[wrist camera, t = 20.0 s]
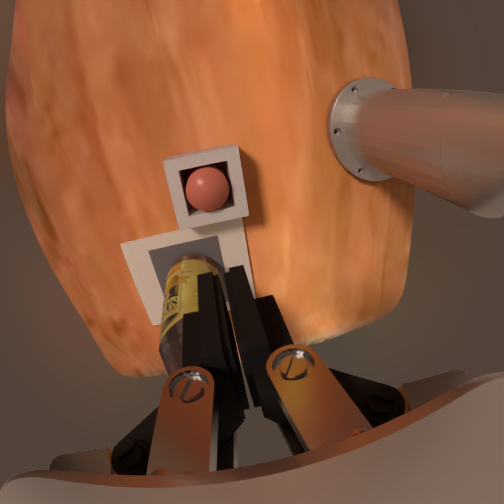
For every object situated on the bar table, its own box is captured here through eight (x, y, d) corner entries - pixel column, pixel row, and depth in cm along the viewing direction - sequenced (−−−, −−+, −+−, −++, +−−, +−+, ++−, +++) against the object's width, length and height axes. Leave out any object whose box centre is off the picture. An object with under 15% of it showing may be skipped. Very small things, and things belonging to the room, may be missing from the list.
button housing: (234, 143, 28) (237, 145, 25) (244, 206, 31) (249, 215, 28) (166, 157, 27) (163, 161, 24) (181, 220, 30) (179, 230, 28)
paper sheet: (241, 216, 31) (241, 217, 31) (256, 303, 37) (256, 304, 37) (120, 243, 30) (120, 244, 30) (153, 324, 36) (152, 325, 35)
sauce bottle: (169, 248, 31) (150, 402, 13) (224, 254, 33) (259, 405, 15) (165, 296, 34) (156, 447, 16) (215, 301, 35) (240, 449, 18)
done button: (222, 160, 28) (225, 165, 25) (229, 198, 29) (232, 206, 27) (183, 169, 27) (181, 174, 25) (191, 205, 29) (190, 215, 26)
